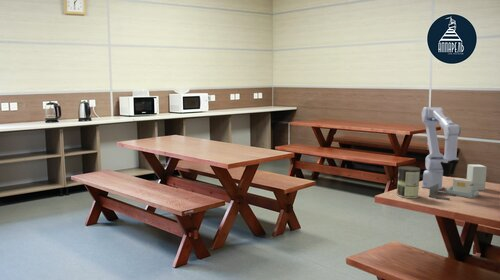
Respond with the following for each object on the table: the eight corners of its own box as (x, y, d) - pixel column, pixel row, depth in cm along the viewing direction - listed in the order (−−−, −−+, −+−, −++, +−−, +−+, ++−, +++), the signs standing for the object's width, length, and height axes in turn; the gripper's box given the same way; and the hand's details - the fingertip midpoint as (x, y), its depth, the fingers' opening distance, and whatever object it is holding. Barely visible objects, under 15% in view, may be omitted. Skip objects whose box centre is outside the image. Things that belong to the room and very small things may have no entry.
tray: (445, 193, 251) (445, 189, 250) (451, 190, 258) (452, 186, 258) (473, 198, 242) (473, 193, 242) (478, 194, 250) (478, 190, 250)
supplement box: (485, 190, 260) (487, 166, 259) (471, 189, 261) (473, 166, 259) (479, 187, 268) (481, 164, 266) (465, 186, 268) (467, 163, 266)
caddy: (452, 192, 251) (453, 179, 250) (455, 190, 255) (456, 177, 254) (471, 195, 245) (472, 181, 244) (474, 193, 249) (475, 180, 248)
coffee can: (393, 196, 243) (395, 168, 242) (400, 192, 252) (402, 165, 250) (414, 199, 238) (416, 170, 236) (421, 195, 246) (423, 167, 244)
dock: (429, 196, 243) (429, 186, 243) (436, 192, 252) (437, 183, 251) (449, 200, 237) (450, 190, 237) (456, 196, 246) (457, 186, 245)
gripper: (454, 151, 238) (452, 178, 240) (463, 147, 249) (461, 174, 251) (439, 149, 242) (437, 176, 244) (449, 146, 254) (447, 172, 255)
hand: (448, 175), depth 248 cm, fingers open, 7 cm apart
